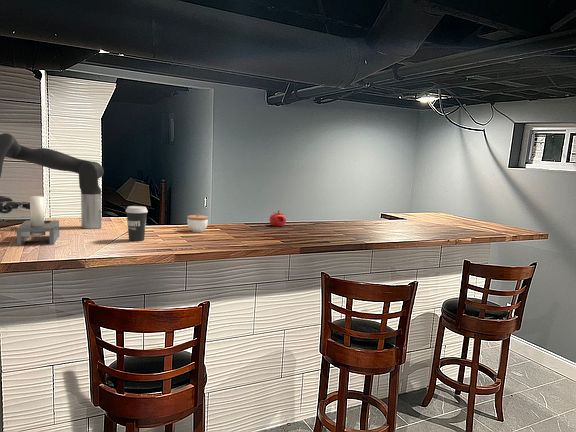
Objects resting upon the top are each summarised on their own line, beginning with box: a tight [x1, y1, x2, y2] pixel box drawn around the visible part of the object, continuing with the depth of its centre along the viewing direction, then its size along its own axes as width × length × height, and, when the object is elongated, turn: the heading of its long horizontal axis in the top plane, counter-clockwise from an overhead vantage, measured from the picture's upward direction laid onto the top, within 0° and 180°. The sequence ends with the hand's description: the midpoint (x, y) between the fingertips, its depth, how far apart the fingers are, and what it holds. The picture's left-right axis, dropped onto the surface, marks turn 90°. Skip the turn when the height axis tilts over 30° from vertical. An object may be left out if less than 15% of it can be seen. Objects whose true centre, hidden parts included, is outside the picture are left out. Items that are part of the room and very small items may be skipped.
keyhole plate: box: [16, 219, 60, 247], centre depth 184 cm, size 20×13×7 cm, turn 22°
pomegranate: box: [269, 209, 287, 228], centre depth 256 cm, size 10×10×9 cm
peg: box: [29, 195, 46, 237], centre depth 180 cm, size 6×6×16 cm
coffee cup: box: [125, 205, 149, 242], centre depth 194 cm, size 10×10×15 cm
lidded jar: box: [186, 212, 209, 233], centre depth 225 cm, size 11×11×9 cm
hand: (21, 207), depth 184 cm, fingers open, 8 cm apart
